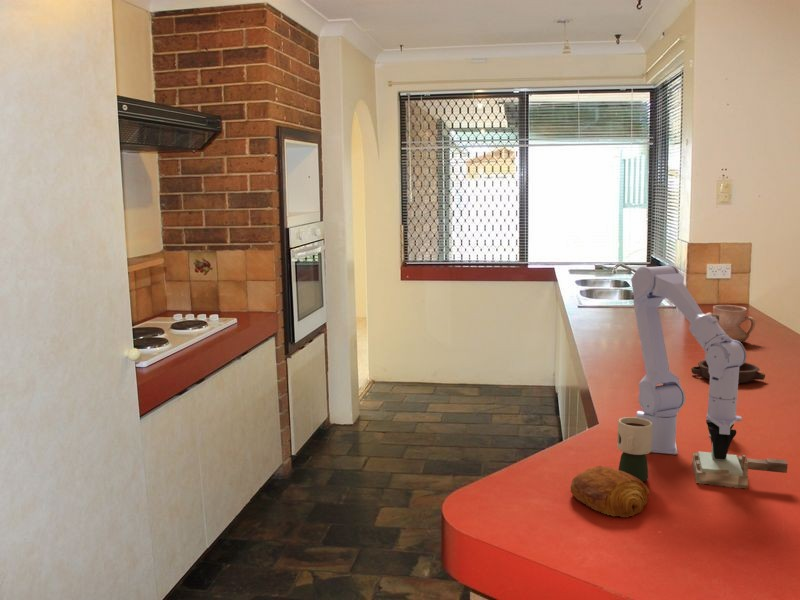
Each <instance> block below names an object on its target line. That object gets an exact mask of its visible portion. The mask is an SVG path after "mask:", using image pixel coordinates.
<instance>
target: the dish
mask: <svg viewBox="0 0 800 600" xmlns="http://www.w3.org/2000/svg"><path fill="white" fill-rule="evenodd" d="M697 364H698V365H697V366H692V367H691V368H690V369H691V374H693V375H697V376H701V377H703V378H705V379H706V380H708V381H710V375H709V373H708V371H709V367H708V364H707V362H706V360H705V359H704V360H701V361H699V362H698V363H697ZM738 367H739V379H738V385H740V383H741V384H745V383H750V382H751V381H755V380H759V381H764V380H765V377H766V374H765V373H763V372H759V371H760V368H759V367H758V366H757V365H755V364H752V363H749V362H746V361H745V362H744V364H743V365H741V366H738Z"/></svg>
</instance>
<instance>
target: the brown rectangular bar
mask: <svg viewBox="0 0 800 600" xmlns="http://www.w3.org/2000/svg"><path fill="white" fill-rule="evenodd" d="M745 461H747V462H748V470H752V471H763V472H773V473H782V474H783V473H785V474H787V473H788V462H787V460H786V459H778V458H777V459H775V458H769V457H768V458H765V459H757V458H750V457H749V458H748V457H746V459H745Z"/></svg>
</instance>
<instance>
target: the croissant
mask: <svg viewBox="0 0 800 600" xmlns="http://www.w3.org/2000/svg"><path fill="white" fill-rule="evenodd" d="M570 493H571V494H572V496H573V497H574V498H575V499H576V500H578V501H580V502H581V503H582V504H584V505H585V504H586V505H585V506H587V507H589V508H590V507H591V508H590V509H592V510H594V511H596V512H598V511H599V512H598V513H600V512H601V513H600V514H604V515H606V514H607V515H606V516H609V515H611V516H610V517H615V516H620V517H621V518H625V517H626V518H629V517H628V516H632V517H634V516H636V515H637V514H638V512H639V513H642V511H643V509H644V507H645V506H646V504H647V503H648V502H649V498H648V497H649V496H648V495H650V494H651V491H650V490H649V487H648V486H647V485H646V484H645V483H644V481H643V482H642V481H641V480H640V479H638V478H637V477H635V476H633V475H631V474H629V473H626V472H624V471H620V470H618V469H616V468H612V467H606V466H602V465H598V466H595V467H591V468H588V469H586V470H584V471H582V472H580V473H579V474H578V473H577V475H576V476H575V477H574V478H572V480H571V484H570ZM644 505H645V506H644ZM643 506H644V507H643ZM635 514H636V515H635Z"/></svg>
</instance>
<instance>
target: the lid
mask: <svg viewBox="0 0 800 600" xmlns="http://www.w3.org/2000/svg"><path fill="white" fill-rule="evenodd" d="M711 450H712V452H711V451H710V452H708V451H697V453H698V457H699V462H700V466H701V471H702V472H707V473H716V469H722V470H729V475H736V476H743V472H742V469H741V466H740V463H739V461H738V458H739V457H738V455H737V454H729V453H727V455H726V458H725V460H723V459H715V457H714V452H713V442H712V443H711Z"/></svg>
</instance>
